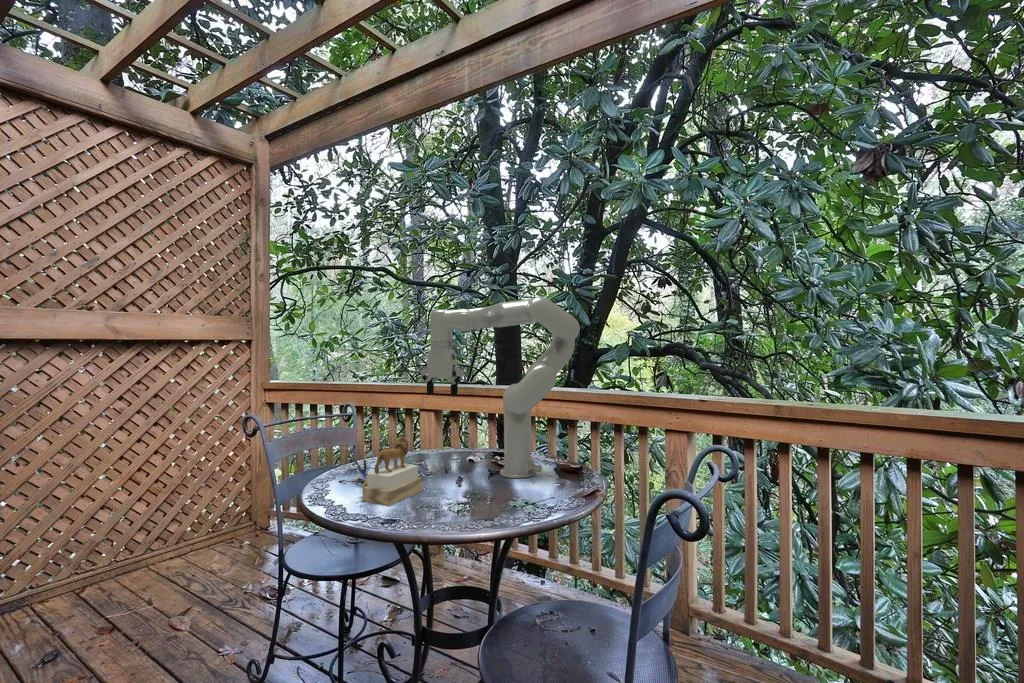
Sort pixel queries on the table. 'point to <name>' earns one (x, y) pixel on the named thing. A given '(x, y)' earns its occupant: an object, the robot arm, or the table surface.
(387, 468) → the lion figurine
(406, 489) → the oak base brick
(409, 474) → the cream brick
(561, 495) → the table surface
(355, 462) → the figurine
